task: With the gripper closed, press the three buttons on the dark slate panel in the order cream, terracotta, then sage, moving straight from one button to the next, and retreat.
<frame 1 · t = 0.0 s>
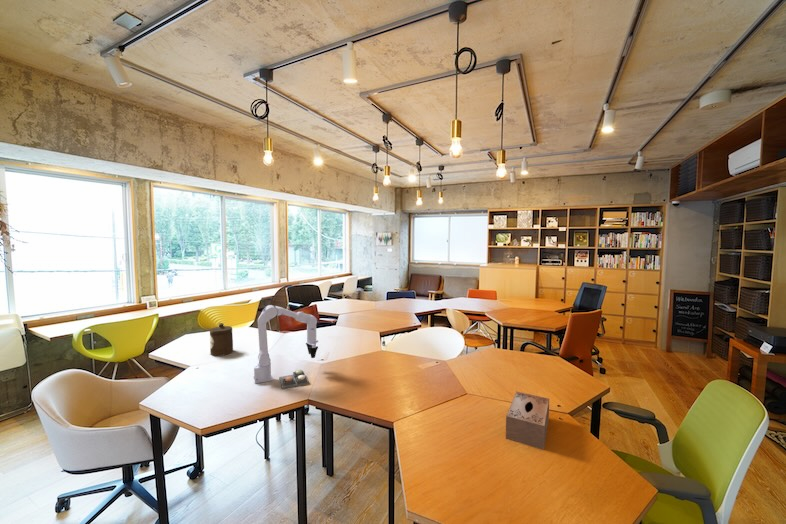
hand: (311, 355, 200), 10 cm above the table, fingers open, 7 cm apart
button panel: (293, 381, 186), on the table
sage button: (298, 372, 192), point 3 cm above the table, slide at 0.0 cm
terracotta button: (288, 379, 182), point 3 cm above the table, slide at 0.0 cm
cream button: (301, 377, 184), point 3 cm above the table, slide at 0.0 cm
wooden container: (221, 352, 235), on the table
tissue box cover: (528, 429, 140), on the table
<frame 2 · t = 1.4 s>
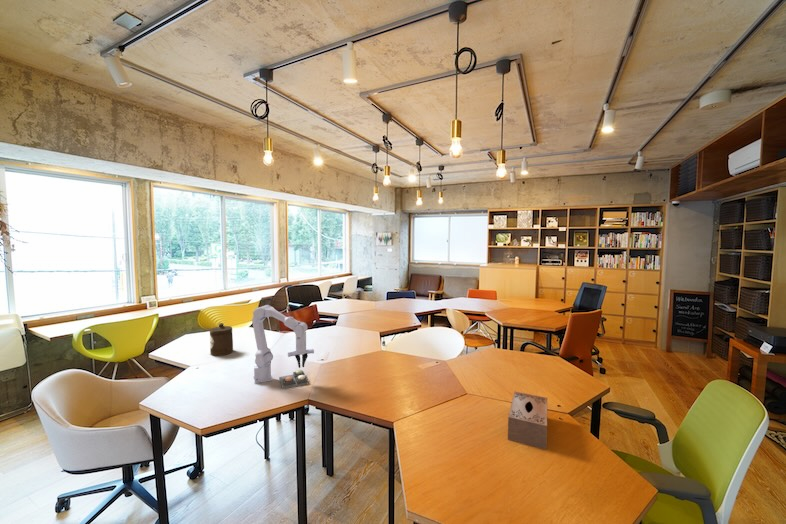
hand: (301, 366, 184), 9 cm above the table, fingers closed
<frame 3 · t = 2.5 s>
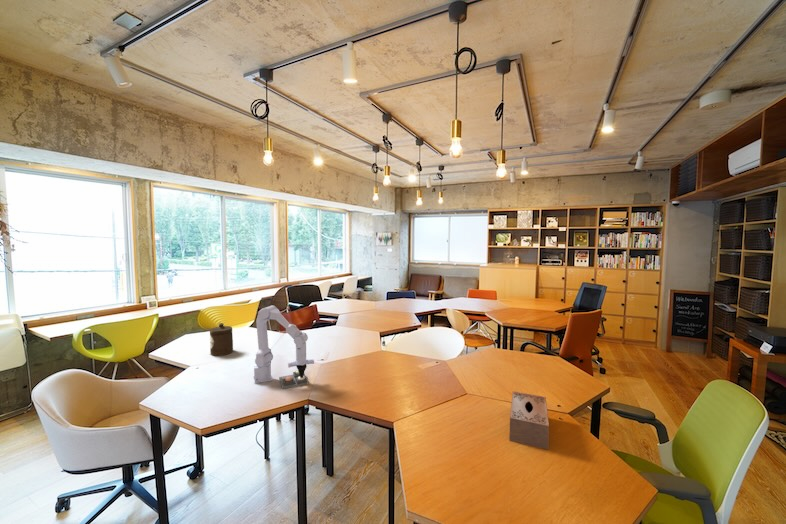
hand: (301, 377, 184), 3 cm above the table, fingers closed, pressing on cream button
cream button: (301, 378, 184), point 3 cm above the table, slide at 0.5 cm, touching gripper
everything else where it was.
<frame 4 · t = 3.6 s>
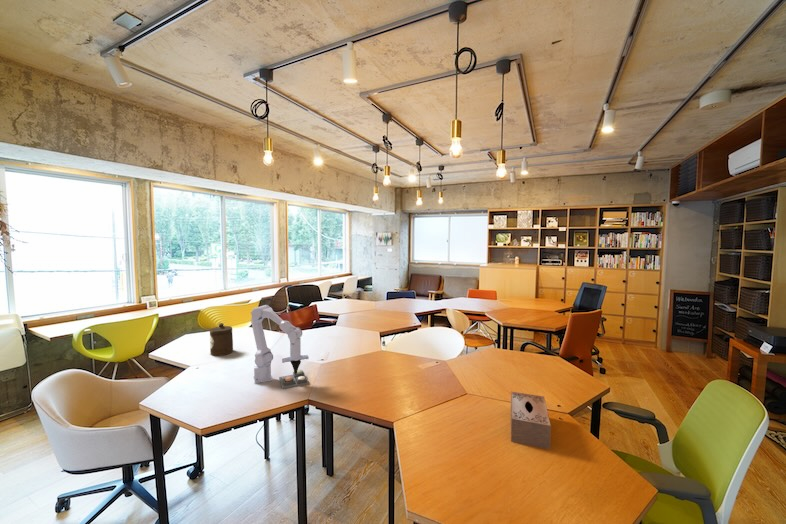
hand: (295, 372, 183), 6 cm above the table, fingers closed
cream button: (301, 378, 184), point 2 cm above the table, slide at 0.7 cm
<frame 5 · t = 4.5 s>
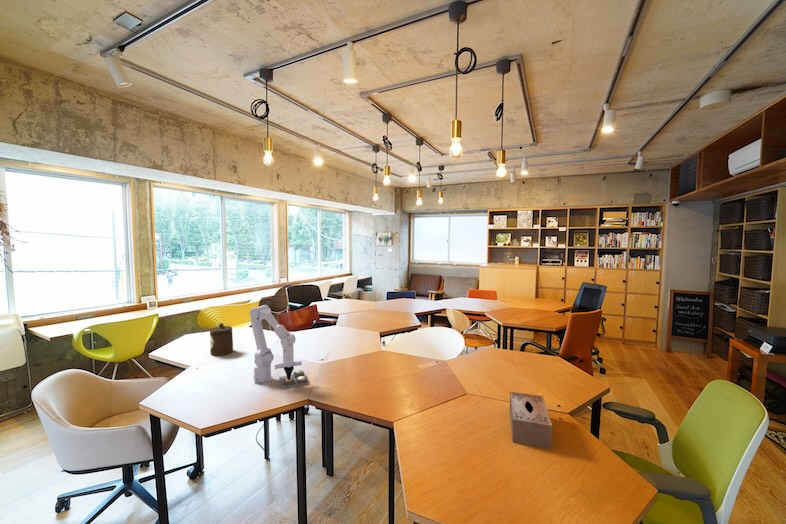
hand: (288, 379, 182), 3 cm above the table, fingers closed, pressing on terracotta button
terracotta button: (288, 380, 182), point 2 cm above the table, slide at 0.7 cm, touching gripper
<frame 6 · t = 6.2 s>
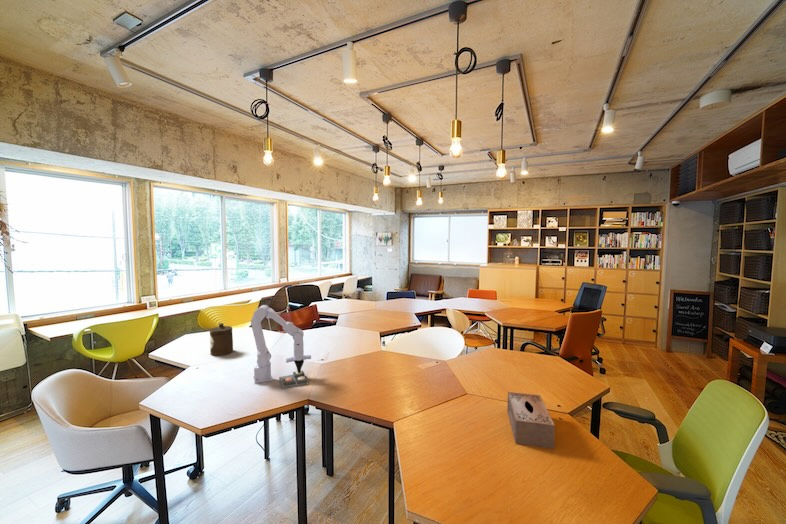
hand: (298, 372, 192), 3 cm above the table, fingers closed, pressing on sage button
sage button: (298, 373, 192), point 2 cm above the table, slide at 0.6 cm, touching gripper
terracotta button: (288, 380, 182), point 2 cm above the table, slide at 0.7 cm
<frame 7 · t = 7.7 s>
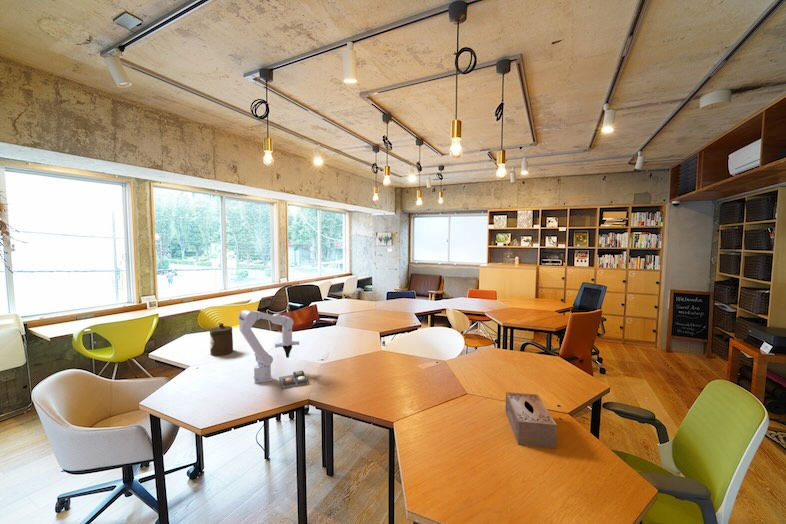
hand: (287, 357, 199), 9 cm above the table, fingers closed
sage button: (298, 373, 192), point 2 cm above the table, slide at 0.7 cm
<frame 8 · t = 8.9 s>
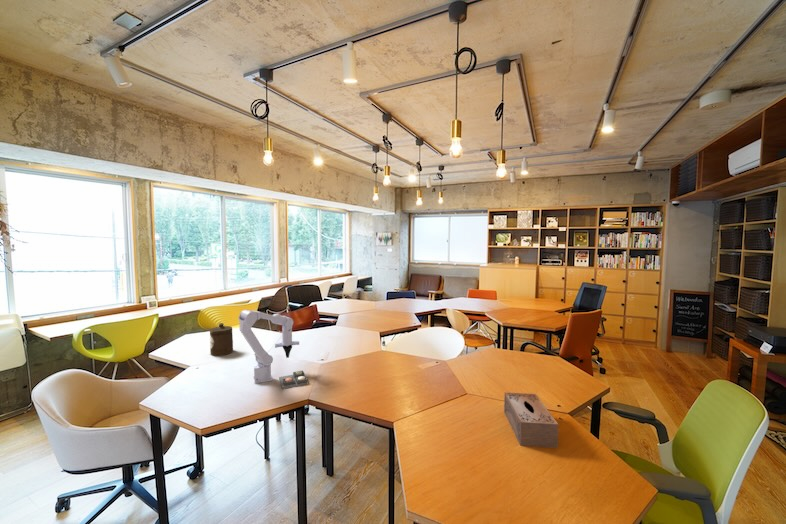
hand: (287, 357, 199), 9 cm above the table, fingers closed
at the end: cream button slide at 0.7 cm; terracotta button slide at 0.7 cm; sage button slide at 0.7 cm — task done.
